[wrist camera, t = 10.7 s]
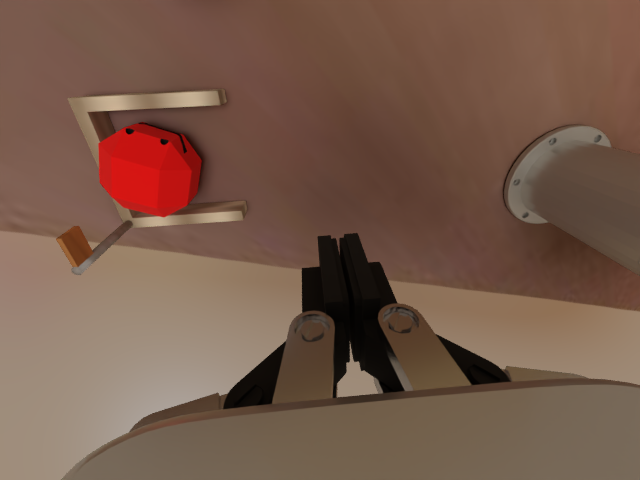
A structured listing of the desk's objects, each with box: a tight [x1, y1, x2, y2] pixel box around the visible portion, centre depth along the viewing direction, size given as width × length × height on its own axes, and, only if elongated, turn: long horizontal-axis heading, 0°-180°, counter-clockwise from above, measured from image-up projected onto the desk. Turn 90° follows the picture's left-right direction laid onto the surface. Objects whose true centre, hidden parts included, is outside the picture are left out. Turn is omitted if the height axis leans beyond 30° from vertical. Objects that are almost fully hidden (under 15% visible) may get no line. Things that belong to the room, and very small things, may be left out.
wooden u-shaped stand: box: [56, 89, 247, 275], centre depth 27 cm, size 13×13×12 cm
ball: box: [98, 122, 202, 217], centre depth 29 cm, size 8×8×8 cm
